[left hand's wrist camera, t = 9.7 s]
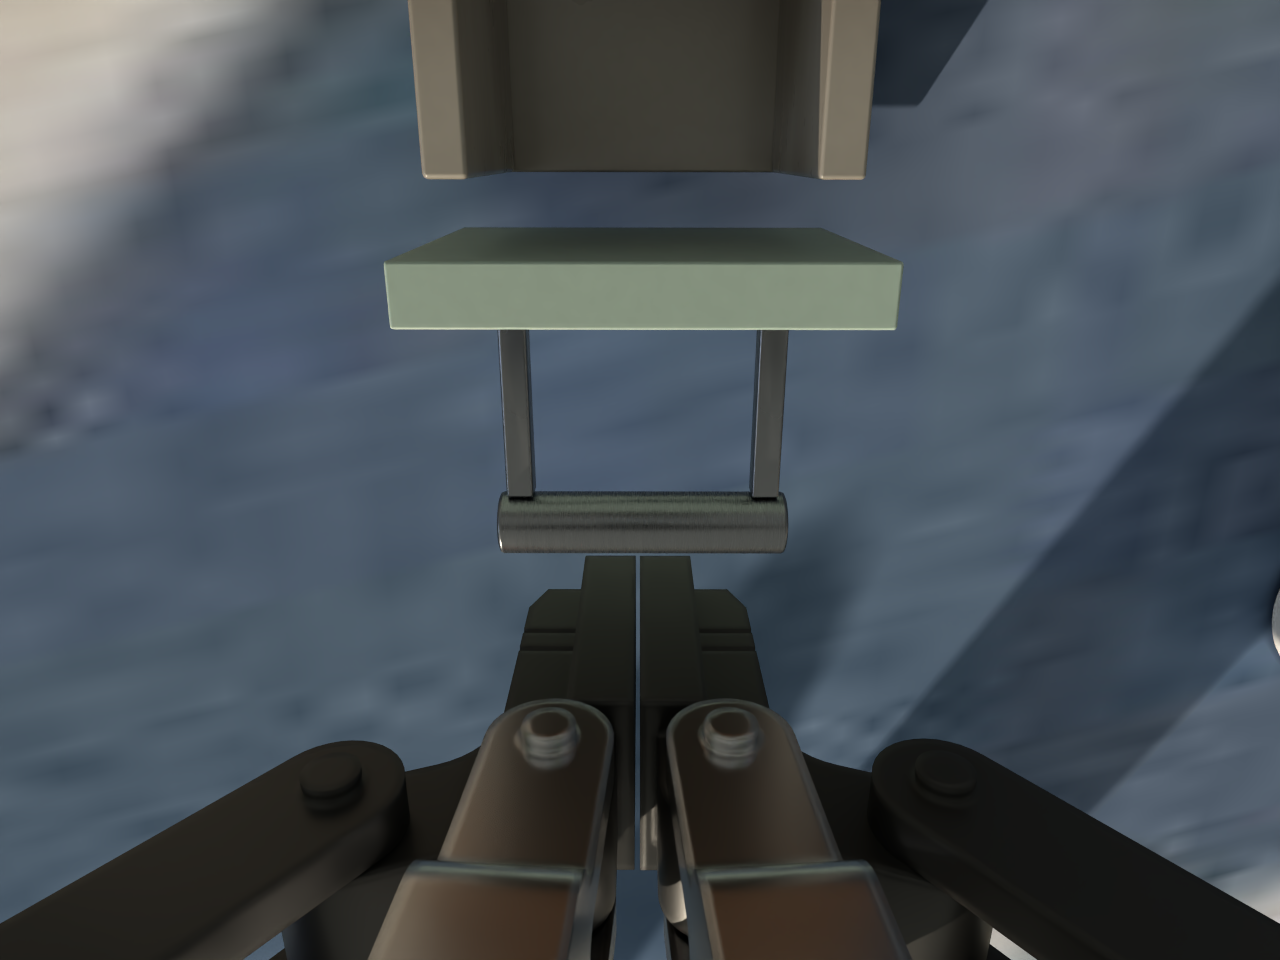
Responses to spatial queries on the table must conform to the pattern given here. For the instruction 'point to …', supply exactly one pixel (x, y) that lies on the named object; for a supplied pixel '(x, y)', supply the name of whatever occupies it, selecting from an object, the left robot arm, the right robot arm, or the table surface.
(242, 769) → the table surface
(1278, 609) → the coffee cup
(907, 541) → the table surface
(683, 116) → the drawer
